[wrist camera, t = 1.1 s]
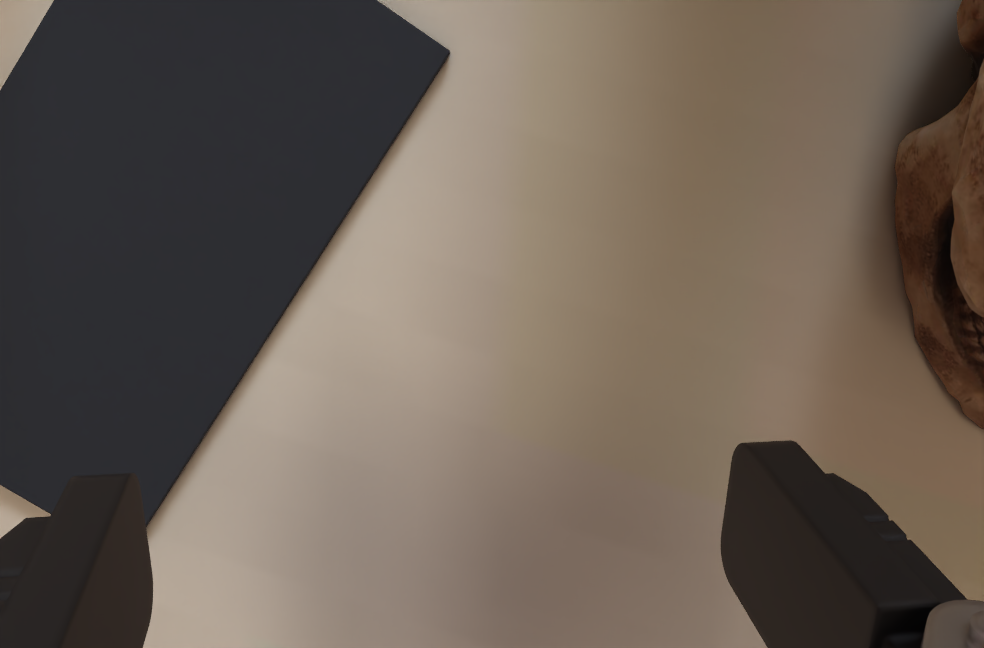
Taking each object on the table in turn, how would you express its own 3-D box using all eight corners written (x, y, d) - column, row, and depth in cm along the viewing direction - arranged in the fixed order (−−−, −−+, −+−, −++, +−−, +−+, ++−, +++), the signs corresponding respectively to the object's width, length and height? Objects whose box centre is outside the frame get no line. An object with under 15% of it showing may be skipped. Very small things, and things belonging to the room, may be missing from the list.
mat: (152, -152, 29) (147, -159, 28) (450, 53, 30) (450, 51, 30) (-166, 380, 30) (-176, 384, 30) (130, 552, 32) (125, 557, 31)
